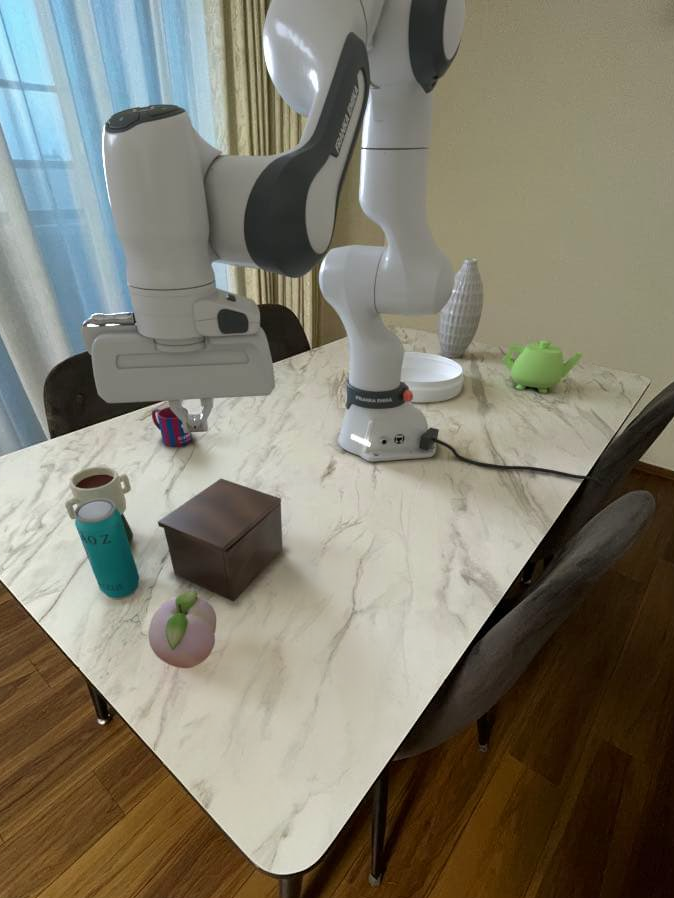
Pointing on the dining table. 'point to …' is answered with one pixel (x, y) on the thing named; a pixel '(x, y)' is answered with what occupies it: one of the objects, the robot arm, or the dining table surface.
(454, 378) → the white round dish
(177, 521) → the lid
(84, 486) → the character mug
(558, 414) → the dining table surface
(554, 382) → the teapot
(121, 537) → the beverage can
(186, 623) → the decorative fruit
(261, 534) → the box
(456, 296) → the vase
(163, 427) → the cup
